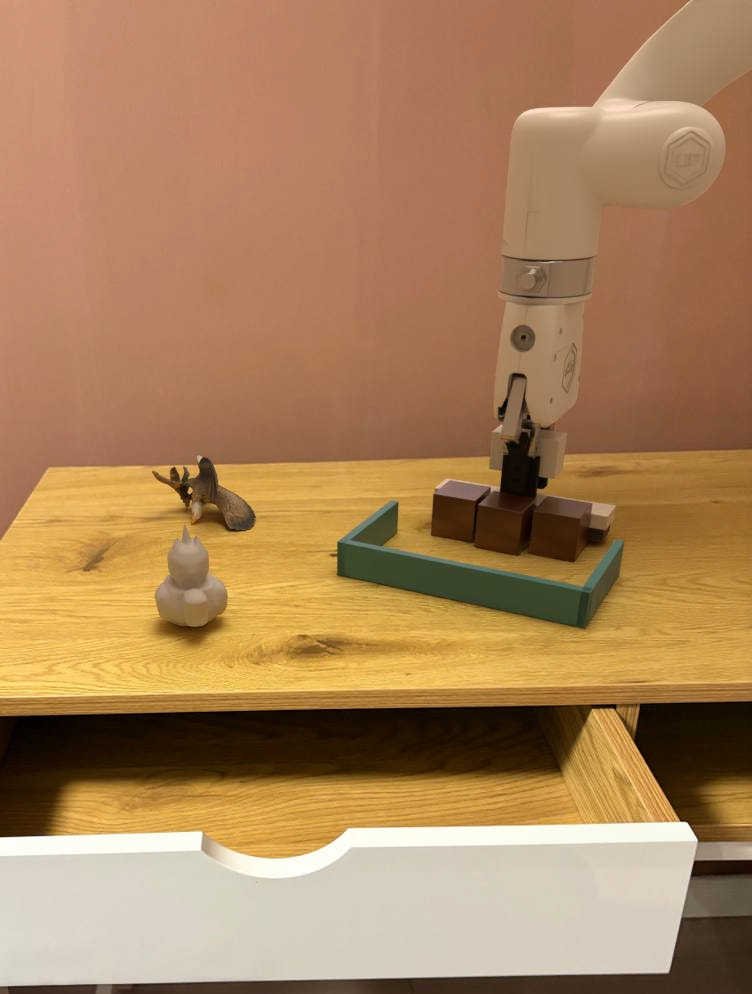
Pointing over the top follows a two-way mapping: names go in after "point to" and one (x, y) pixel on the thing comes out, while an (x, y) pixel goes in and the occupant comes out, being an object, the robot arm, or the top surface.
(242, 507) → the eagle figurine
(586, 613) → the corral
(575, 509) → the block
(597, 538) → the brush
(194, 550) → the grey rounded lumpy piece
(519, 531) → the block
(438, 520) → the block
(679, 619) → the top surface
